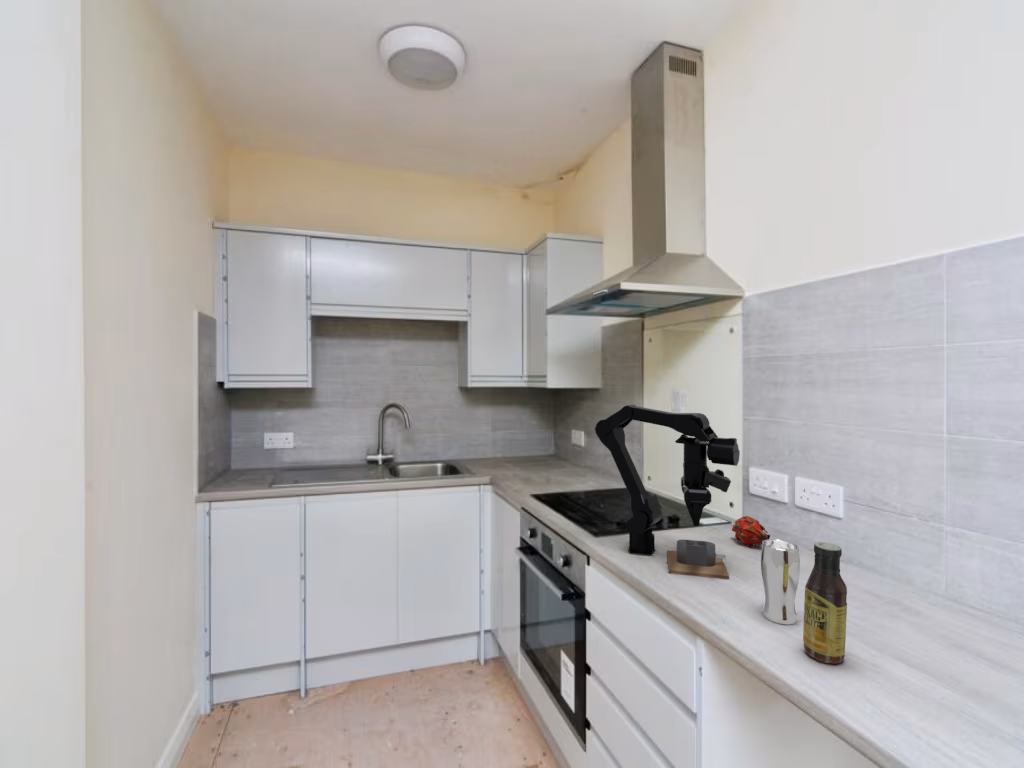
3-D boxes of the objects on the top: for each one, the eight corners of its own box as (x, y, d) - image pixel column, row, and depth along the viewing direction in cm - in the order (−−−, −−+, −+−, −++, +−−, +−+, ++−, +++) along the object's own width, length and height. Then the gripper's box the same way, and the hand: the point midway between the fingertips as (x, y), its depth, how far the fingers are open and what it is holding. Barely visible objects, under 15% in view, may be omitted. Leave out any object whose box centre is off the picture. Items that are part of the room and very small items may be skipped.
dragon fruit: (738, 541, 147) (763, 561, 135) (719, 527, 146) (742, 546, 134) (756, 519, 147) (782, 538, 135) (736, 505, 145) (761, 522, 133)
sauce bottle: (795, 646, 87) (795, 538, 87) (827, 644, 88) (828, 537, 87) (821, 668, 81) (822, 551, 80) (855, 666, 81) (856, 550, 81)
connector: (677, 563, 124) (677, 544, 124) (676, 557, 128) (676, 538, 128) (726, 568, 121) (726, 548, 121) (723, 561, 125) (724, 542, 125)
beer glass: (795, 612, 100) (795, 540, 100) (803, 628, 93) (803, 552, 93) (758, 606, 102) (758, 537, 102) (763, 622, 96) (764, 548, 95)
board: (668, 573, 120) (668, 569, 120) (666, 553, 133) (666, 550, 133) (729, 579, 116) (729, 576, 116) (720, 558, 130) (720, 555, 130)
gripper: (734, 469, 114) (733, 534, 114) (723, 456, 132) (723, 513, 132) (684, 467, 117) (684, 530, 118) (680, 455, 135) (680, 509, 135)
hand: (694, 520), depth 126 cm, fingers open, 9 cm apart
